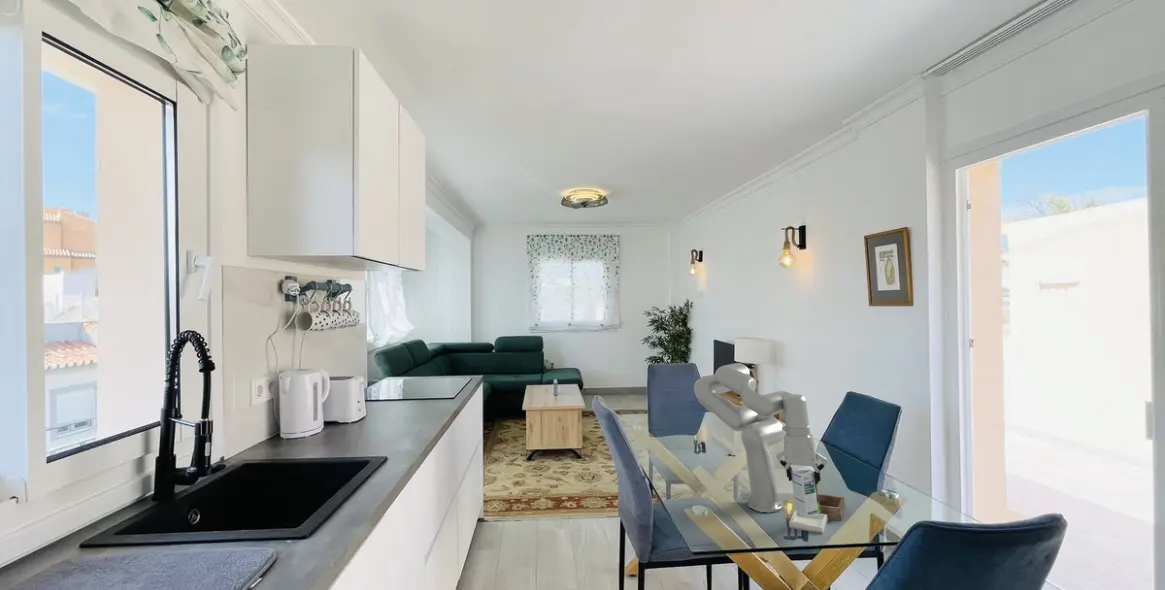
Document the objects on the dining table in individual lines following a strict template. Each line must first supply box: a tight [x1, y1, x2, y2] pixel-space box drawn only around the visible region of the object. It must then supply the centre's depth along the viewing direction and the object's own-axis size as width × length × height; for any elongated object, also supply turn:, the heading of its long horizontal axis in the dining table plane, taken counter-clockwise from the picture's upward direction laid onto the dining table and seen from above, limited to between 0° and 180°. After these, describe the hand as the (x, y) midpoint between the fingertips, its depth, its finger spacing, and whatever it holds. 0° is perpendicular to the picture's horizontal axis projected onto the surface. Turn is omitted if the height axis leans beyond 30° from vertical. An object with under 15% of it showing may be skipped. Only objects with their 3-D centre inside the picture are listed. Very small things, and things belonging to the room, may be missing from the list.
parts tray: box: [788, 509, 829, 534], centre depth 165 cm, size 10×10×2 cm
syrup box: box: [791, 467, 820, 517], centre depth 165 cm, size 6×6×14 cm
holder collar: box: [818, 493, 846, 521], centre depth 173 cm, size 11×11×4 cm
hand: (804, 480), depth 166 cm, fingers closed on syrup box, 8 cm apart
